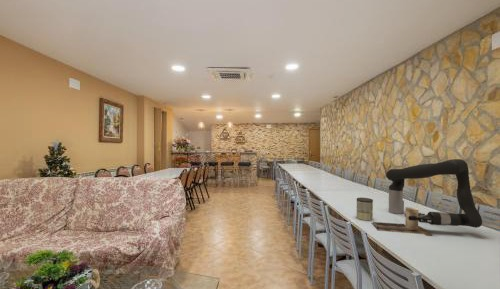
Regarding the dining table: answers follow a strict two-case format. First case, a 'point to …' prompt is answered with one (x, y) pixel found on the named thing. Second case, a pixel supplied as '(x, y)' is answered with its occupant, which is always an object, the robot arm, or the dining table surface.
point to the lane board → (398, 228)
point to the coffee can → (365, 209)
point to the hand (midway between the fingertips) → (407, 216)
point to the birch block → (411, 223)
